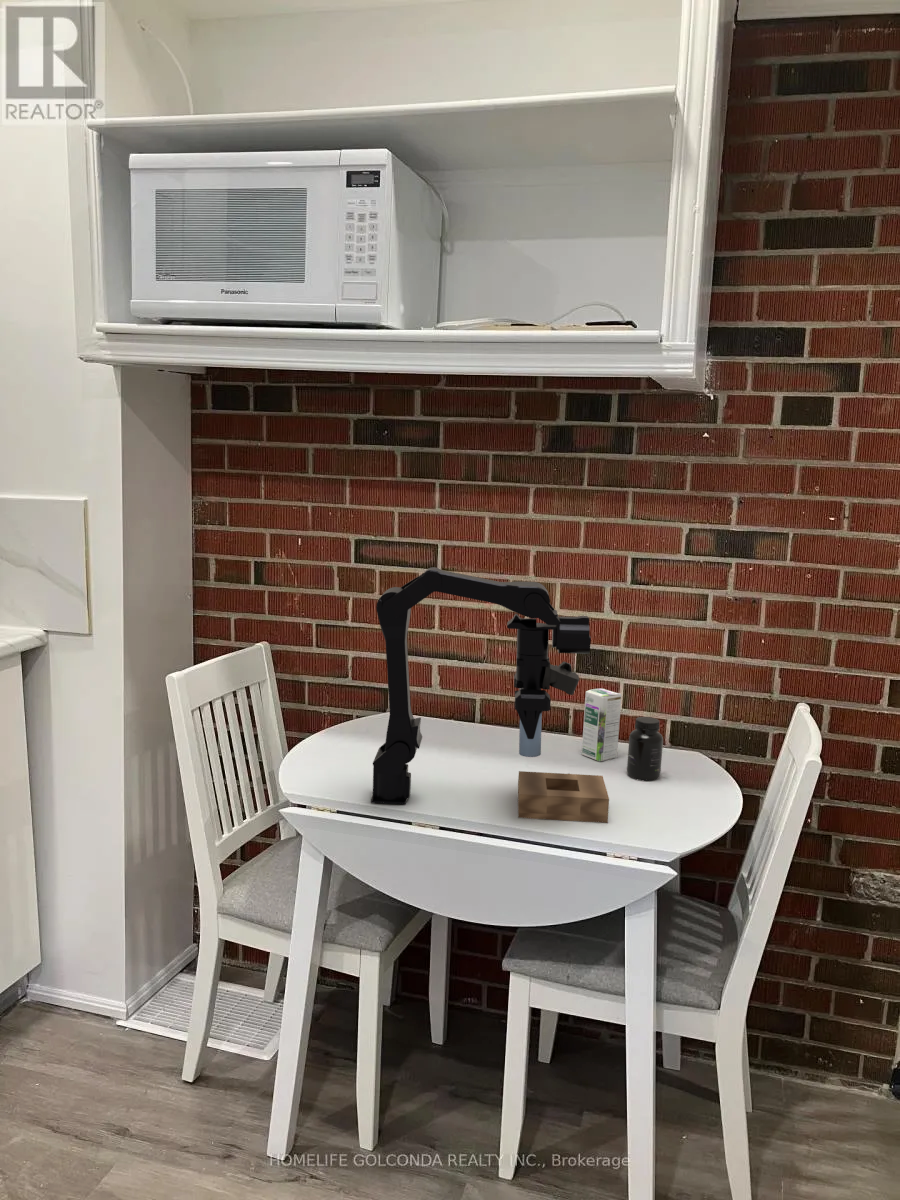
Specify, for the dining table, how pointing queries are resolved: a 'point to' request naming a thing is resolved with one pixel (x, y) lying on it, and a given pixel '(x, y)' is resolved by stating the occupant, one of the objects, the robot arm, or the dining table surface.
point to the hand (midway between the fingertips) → (530, 735)
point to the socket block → (562, 797)
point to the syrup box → (601, 724)
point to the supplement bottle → (645, 750)
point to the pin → (530, 741)
